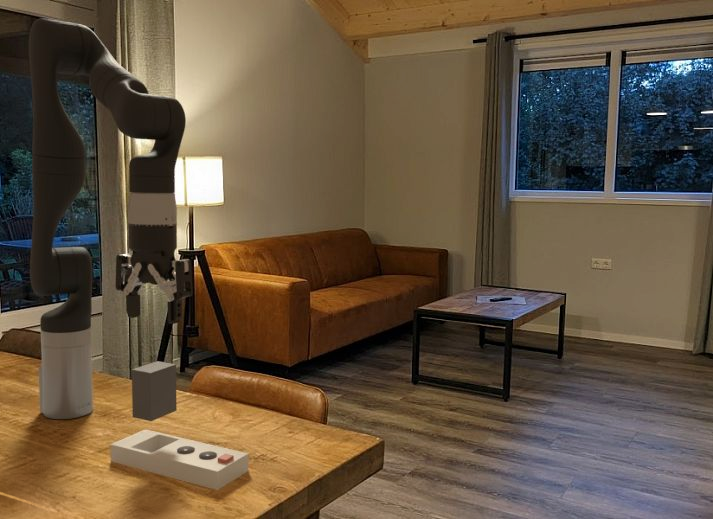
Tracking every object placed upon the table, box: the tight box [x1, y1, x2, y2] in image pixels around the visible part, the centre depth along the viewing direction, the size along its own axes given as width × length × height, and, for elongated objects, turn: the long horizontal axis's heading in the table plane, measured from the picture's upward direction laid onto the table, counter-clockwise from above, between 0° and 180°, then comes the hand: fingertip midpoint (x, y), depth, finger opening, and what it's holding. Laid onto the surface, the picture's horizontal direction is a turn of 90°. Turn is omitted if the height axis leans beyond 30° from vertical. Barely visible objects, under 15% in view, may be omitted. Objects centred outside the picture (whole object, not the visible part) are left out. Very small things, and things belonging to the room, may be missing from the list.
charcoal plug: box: [131, 360, 178, 422], centre depth 115 cm, size 4×6×8 cm, turn 153°
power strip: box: [110, 429, 249, 491], centre depth 114 cm, size 23×8×4 cm, turn 64°
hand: (153, 320), depth 113 cm, fingers open, 8 cm apart
